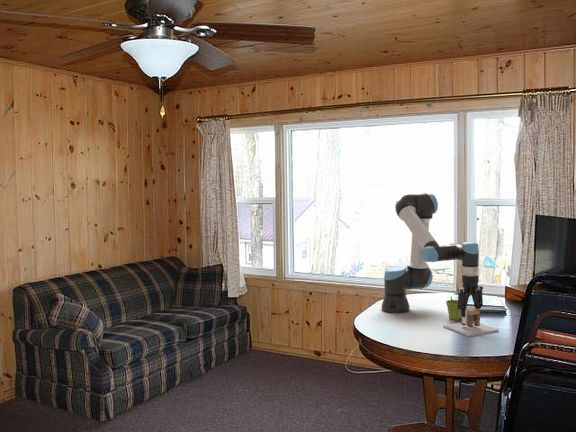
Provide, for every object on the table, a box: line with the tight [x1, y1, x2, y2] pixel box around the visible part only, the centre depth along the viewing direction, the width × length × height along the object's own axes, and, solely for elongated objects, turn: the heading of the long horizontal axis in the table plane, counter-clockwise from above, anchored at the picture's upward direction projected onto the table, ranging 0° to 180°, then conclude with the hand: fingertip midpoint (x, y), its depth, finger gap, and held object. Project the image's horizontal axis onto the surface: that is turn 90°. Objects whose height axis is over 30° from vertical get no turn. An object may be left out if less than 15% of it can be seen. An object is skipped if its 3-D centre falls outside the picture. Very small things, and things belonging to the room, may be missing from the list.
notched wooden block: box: [460, 306, 481, 328], centre depth 273 cm, size 6×6×8 cm
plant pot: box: [445, 299, 461, 321], centre depth 294 cm, size 9×9×9 cm
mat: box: [442, 321, 499, 338], centre depth 274 cm, size 18×18×1 cm
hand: (470, 322), depth 274 cm, fingers closed on notched wooden block, 6 cm apart
